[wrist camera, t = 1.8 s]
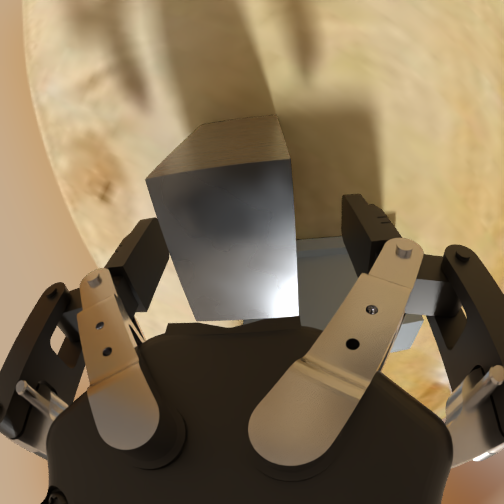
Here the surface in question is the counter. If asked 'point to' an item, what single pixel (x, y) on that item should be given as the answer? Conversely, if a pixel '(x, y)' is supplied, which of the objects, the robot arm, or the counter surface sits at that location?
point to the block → (231, 219)
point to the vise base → (333, 287)
